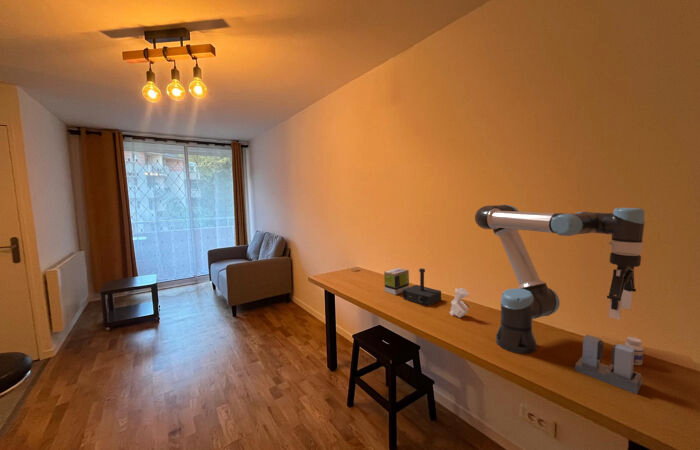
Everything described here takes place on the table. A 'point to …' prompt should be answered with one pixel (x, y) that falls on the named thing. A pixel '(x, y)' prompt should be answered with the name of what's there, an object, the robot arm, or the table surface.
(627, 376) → the long gray rectangular block
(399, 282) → the tea box
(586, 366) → the grey block fixture
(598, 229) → the robot arm
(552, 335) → the table surface
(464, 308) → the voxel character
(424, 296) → the dark box with post
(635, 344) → the pill bottle
